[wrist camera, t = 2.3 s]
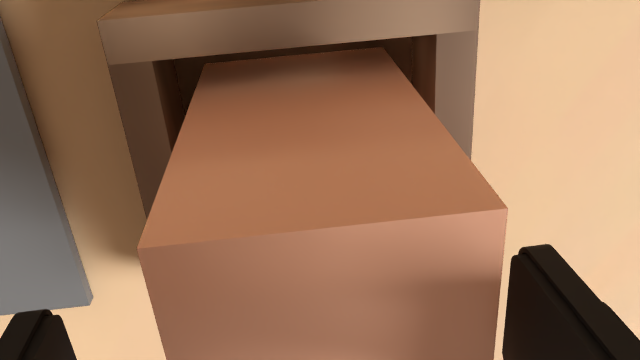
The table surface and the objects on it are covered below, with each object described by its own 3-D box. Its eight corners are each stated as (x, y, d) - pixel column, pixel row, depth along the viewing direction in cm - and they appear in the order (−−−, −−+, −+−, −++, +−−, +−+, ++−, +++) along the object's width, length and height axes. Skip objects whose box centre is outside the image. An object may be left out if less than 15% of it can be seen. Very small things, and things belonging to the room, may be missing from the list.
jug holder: (449, -28, 18) (480, -14, 15) (440, 242, 23) (463, 288, 20) (122, 2, 17) (96, 21, 15) (184, 270, 22) (172, 321, 19)
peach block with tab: (382, 46, 19) (507, 208, 9) (387, 263, 23) (476, 535, 13) (205, 63, 19) (136, 248, 9) (241, 280, 23) (223, 569, 13)
